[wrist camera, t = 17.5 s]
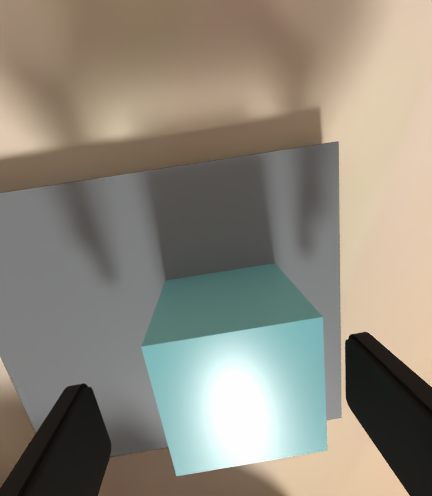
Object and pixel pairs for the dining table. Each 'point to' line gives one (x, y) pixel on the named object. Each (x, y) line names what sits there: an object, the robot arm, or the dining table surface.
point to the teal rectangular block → (237, 369)
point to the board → (154, 271)
